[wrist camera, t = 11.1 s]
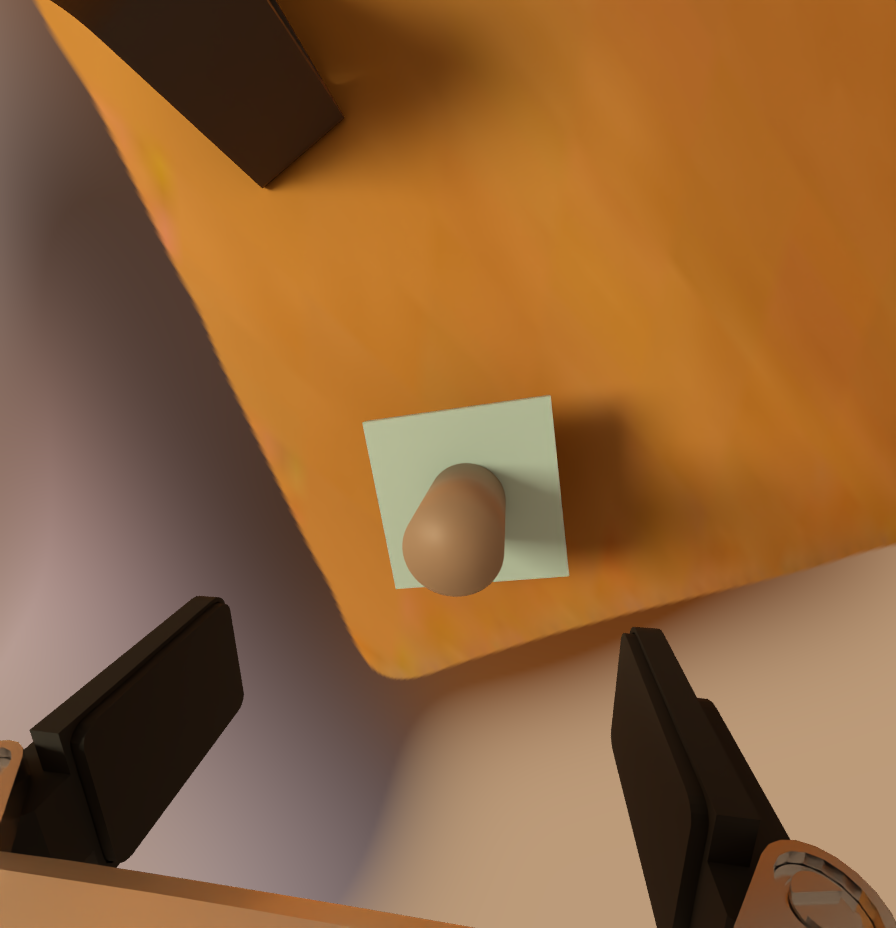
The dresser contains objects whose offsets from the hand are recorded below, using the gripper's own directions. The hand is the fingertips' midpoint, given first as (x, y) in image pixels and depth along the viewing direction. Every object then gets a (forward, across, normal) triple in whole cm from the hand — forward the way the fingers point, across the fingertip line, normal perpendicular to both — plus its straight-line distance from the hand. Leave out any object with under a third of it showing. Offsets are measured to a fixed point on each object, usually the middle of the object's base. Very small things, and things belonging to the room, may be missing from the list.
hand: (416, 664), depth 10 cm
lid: (+14, 0, +1) cm, 14 cm away
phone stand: (+19, +12, -21) cm, 31 cm away
